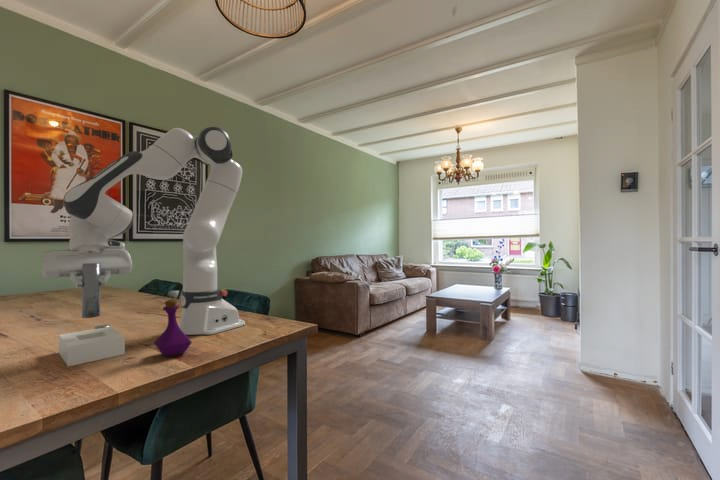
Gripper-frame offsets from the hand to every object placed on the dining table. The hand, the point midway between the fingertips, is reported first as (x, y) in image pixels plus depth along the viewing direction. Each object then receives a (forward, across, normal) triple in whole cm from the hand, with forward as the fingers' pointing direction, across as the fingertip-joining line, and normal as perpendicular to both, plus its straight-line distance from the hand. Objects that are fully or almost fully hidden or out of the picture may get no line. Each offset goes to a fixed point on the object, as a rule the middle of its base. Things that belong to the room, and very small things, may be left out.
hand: (91, 285), depth 92 cm
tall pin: (+6, 0, +7) cm, 9 cm away
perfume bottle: (+25, +17, +2) cm, 30 cm away
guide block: (+13, 0, +14) cm, 19 cm away
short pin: (+4, +4, +24) cm, 24 cm away
